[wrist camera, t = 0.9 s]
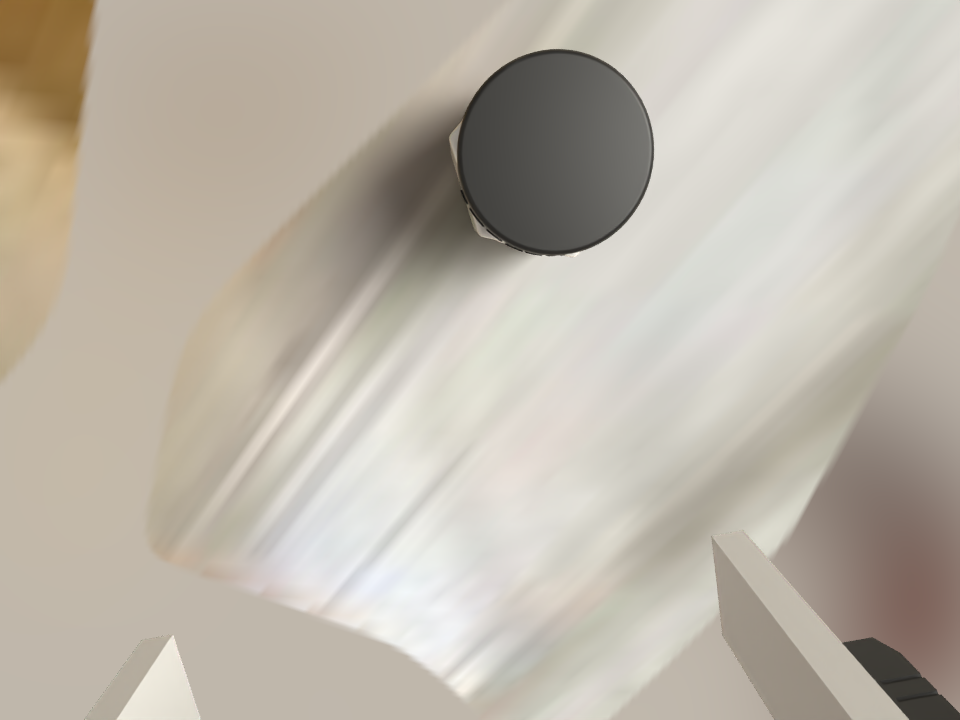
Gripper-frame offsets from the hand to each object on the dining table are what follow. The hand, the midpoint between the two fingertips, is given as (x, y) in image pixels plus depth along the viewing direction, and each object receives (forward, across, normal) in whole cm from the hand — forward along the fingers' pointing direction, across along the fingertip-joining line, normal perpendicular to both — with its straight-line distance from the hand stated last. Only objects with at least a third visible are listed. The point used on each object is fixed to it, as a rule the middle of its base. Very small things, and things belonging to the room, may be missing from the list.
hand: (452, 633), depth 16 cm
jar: (+26, +6, +11) cm, 29 cm away
